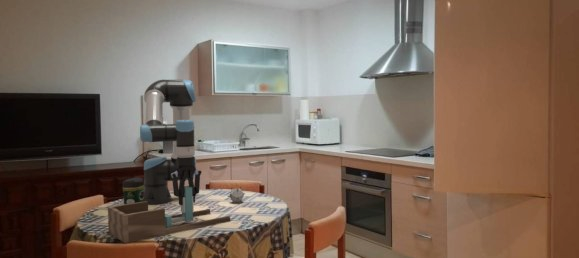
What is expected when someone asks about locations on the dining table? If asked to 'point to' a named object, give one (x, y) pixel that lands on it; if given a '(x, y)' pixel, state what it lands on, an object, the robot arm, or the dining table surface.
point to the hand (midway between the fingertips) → (187, 211)
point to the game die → (236, 195)
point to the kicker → (188, 209)
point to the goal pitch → (148, 222)
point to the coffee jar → (133, 190)
